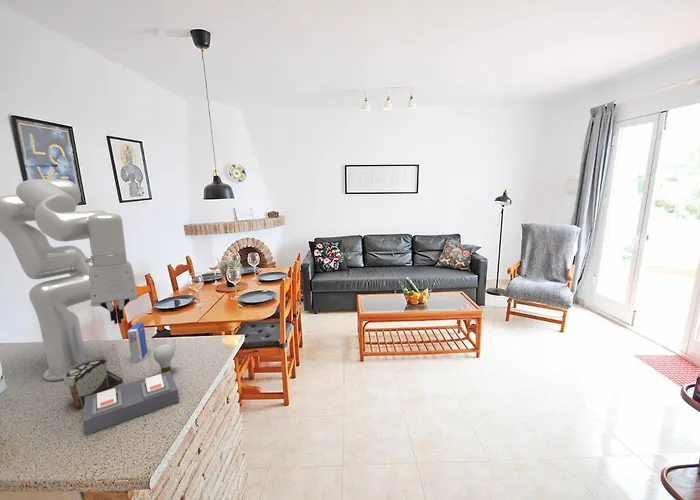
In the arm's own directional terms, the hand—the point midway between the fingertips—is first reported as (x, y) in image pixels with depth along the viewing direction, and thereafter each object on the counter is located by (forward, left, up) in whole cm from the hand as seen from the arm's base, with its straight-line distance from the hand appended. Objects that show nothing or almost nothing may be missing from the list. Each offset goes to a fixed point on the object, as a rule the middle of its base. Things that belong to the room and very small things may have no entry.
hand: (117, 321), depth 93 cm
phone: (-14, -7, -24) cm, 29 cm away
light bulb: (-6, +11, -23) cm, 26 cm away
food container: (-6, -10, -23) cm, 26 cm away
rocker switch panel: (+7, +1, -23) cm, 24 cm away
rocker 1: (+9, -5, -18) cm, 20 cm away
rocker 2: (+9, +6, -18) cm, 21 cm away
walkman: (-24, +5, -23) cm, 34 cm away
